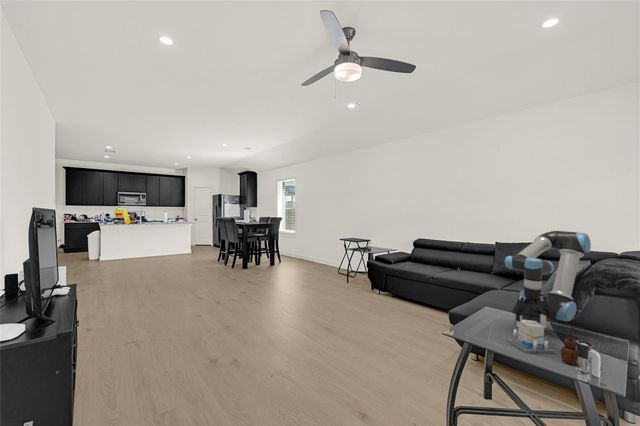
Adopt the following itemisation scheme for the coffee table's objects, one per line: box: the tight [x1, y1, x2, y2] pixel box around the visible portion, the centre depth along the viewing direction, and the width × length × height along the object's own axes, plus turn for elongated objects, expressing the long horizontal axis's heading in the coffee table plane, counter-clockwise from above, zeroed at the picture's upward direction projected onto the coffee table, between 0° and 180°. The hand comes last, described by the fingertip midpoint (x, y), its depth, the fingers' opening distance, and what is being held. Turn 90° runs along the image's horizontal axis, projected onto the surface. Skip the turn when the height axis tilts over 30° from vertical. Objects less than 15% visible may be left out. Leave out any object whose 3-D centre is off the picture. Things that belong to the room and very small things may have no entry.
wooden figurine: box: [560, 332, 580, 365], centre depth 136 cm, size 7×6×15 cm
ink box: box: [517, 320, 545, 349], centre depth 151 cm, size 9×8×12 cm
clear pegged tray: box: [505, 328, 556, 354], centre depth 151 cm, size 16×15×6 cm
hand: (531, 327), depth 151 cm, fingers open, 13 cm apart
